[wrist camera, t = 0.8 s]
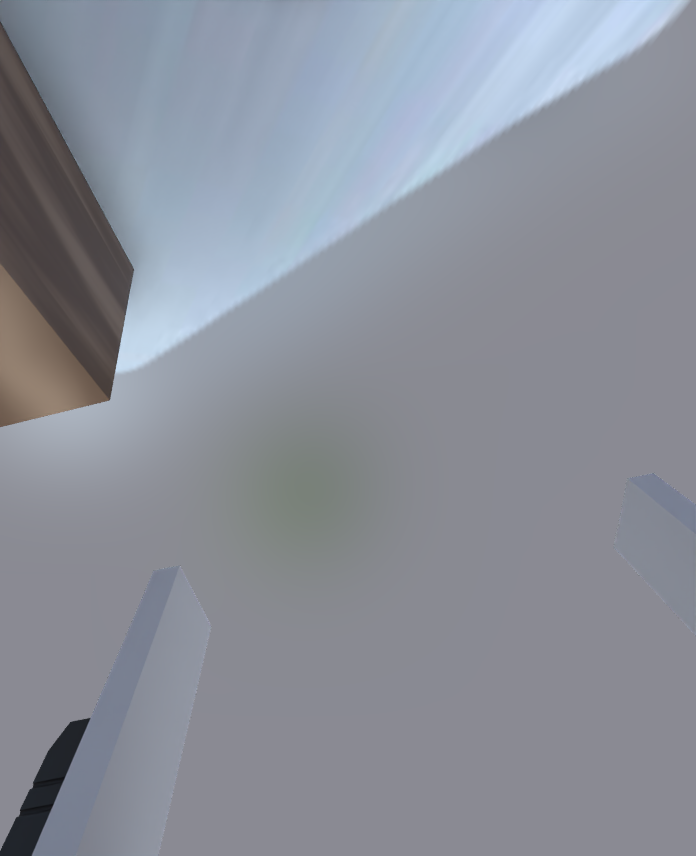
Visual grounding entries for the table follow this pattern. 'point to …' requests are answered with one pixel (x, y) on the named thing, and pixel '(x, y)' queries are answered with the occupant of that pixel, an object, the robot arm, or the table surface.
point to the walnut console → (51, 264)
